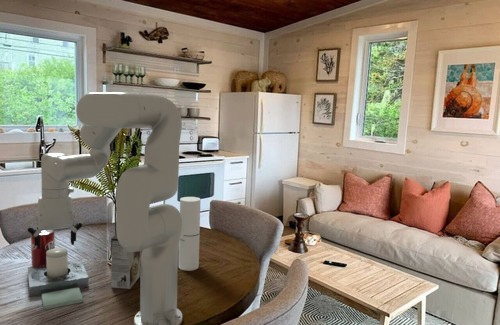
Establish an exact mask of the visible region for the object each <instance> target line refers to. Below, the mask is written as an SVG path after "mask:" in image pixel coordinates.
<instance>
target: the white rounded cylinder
mask: <svg viewBox="0 0 500 325" xmlns="http://www.w3.org/2000/svg"><path fill="white" fill-rule="evenodd" d="M68 254H69V253H68V249H67V248H65V247H55V248H54V249H50V250H48V251H47V252H46V260H47V277H60V276H64V275H67V274H68V261H69V259H68Z"/></svg>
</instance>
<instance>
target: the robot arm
mask: <svg viewBox="0 0 500 325" xmlns="http://www.w3.org/2000/svg"><path fill="white" fill-rule="evenodd" d="M75 112H76V116H77V118H78V120H79V121H80V122H81V124H83V126H82V127H80V130H79V137H80V139H81V140H82V142H83V144H85V145H86V146H87V147H89V148H90V150H89V152H87V153H84V154H72V155H67V154H66V153H63V152H48V153H44V154H43V155H42V156H41V159H40V160H41V161H40V163H41V164H40V167H41V196H39V197H38V200H37V209H36V210H37V211H36V215H35V216H33V217H31V218H29V219H27V220H25V221H24V222H23V226H24V227H25V229H26V231H27V232H28V233H30V235H31V234H32V235H34V244H35V246H37V249H39V248H40V235H39V234H40V233H41V232H42V230H59V229H70V244H71V245H72V246H75V242H77V232H78V231H79V230H80V229H81V228H82V226H83V224H84V222H85V221H86V217H85V216H83V215H80V214H79V213H78V214H77V213H74V206H73V199H72V195H71V194H72V193H74V192H75V189H74V188H72V187H69V186H70V185H69V182H73V181H79V180H84V179H91V178H94V177H96V176H97V175H98V174H100V173H101V171H103V169H104V168H105V167H106V166H107V164H108V163H109V160H110V157H111V146H110V145H111V143H112V142H113V140H115V138H116V137H117V136H118V134H119V133H120V132H121V130H123V129H151V132H149V133H150V134H149V135H148V137H147V138H146V142H145V146H144V158H143V159H144V160H143V161H144V162H143V165H139V166H133V167H130V168H127V169H126V170H125V171H124V172H122V174H121V175H120V177H119V179H118V181H117V184H116V192H115V194H116V195H115V196H116V200H115V203H116V204H115V206H116V208H115V212H116V213H115V229H116V234H117V238H118V241H119V243H120V245H121V246H122V247H123V248H124V249H125V250H127V251H129V252H138V251H140V252H141V253H140V277H139V278H140V281H139V282H140V283H139V284H140V285H139V286H140V287H139V290H140V294H139V295H140V296H139V311H138V312H137V313H136V314H135V316H134V318H133V325H181V324H182V322H183V313H182V311H181V310H180V309H179V308H178V270H179V269H178V268H179V241H180V237H181V232H182V217H181V214H180V210H178V208H177V207H176V206H174V205H172V204H168V203H160V202H164V201H167V200H169V199H171V198H174V197H175V195H176V194H177V192H178V187H179V171H180V170H179V168H180V166H179V165H180V143H181V135H182V124H183V122H182V115H181V113H180V110H179V108H178V107H177V105H176V103H174V102H173V101H172V100H170V99H168V98H166V97H164V96H162V95H157V94H156V95H155V94H147V93H133V92H117V91H116V92H115V91H114V92H93V91H92V92H91V91H90V92H88V93H86V94H84V95H82V96H81V97H80V98H79V100H78V102H77V104H76V109H75ZM156 203H160V204H156ZM152 204H156V205H152ZM150 205H151V206H150ZM74 219H76V220H78V222H77V223H76V224H75V225H74V222H75V221H74ZM34 223H36V225H37V227H36V228H35V229H34V228H33V227H32V226H31V225H32V224H34Z"/></svg>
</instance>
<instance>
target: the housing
mask: <svg viewBox="0 0 500 325" xmlns="http://www.w3.org/2000/svg"><path fill="white" fill-rule="evenodd" d="M27 279H28V280H27V281H28V291H29V297H30V298H32V297H37V296H42V294H44V293H50V292H55V291H61V290H66V289H71V288H77V287H79V289H81V288H86V287H89V275H88V273H87V271H86V268H85V265H84V264H83V261H82V259H75V260H68V274H67V275H64V276H60V277H47V265H40V266H28V267H27Z"/></svg>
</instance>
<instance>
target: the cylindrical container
mask: <svg viewBox="0 0 500 325" xmlns="http://www.w3.org/2000/svg"><path fill="white" fill-rule="evenodd" d="M201 200H202V199H201V198H200V197H198V196H197V197H196V196H184V197H180V199H179V212H180V214H181V217H182V232H181V237H180V241H179V249H178V268H179V269H180V270H181V271H189V272H190V271H195V270H197V269H199V266H200V265H199V264H200V261H199V260H200V234H201V232H200V231H201V230H200V228H201V227H200V226H201V225H200V224H201Z"/></svg>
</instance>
